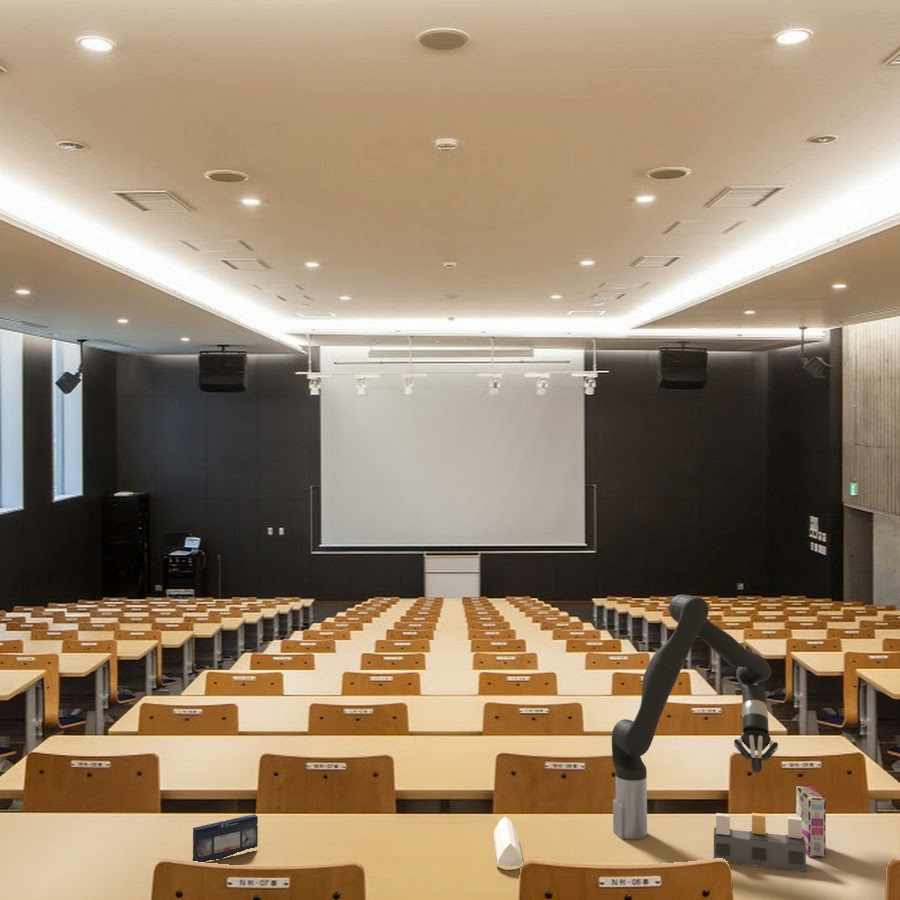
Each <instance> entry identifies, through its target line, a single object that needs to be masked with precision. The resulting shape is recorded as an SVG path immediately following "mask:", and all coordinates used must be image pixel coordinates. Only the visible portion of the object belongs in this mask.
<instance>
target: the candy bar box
mask: <svg viewBox="0 0 900 900" xmlns="http://www.w3.org/2000/svg"><path fill="white" fill-rule="evenodd" d="M795 788H796V789H795V790H796V795H795V796H796V797H795V798H796V799H795V803H796V804H795V805H796V807H795V811H796V813H795V817H801V818H802V837H804V839H805V844H806V856H808V858H826V850H827V849H826V848H827V847H826V845H827V844H826V839H827V838H826V824H827V821H826V819H827V817H826V815H827V814H826V812H827V811H826V801H827V800H826V798H825V797H824V796H823V795H821V793H820V792H818V790H816V789H815V788H814V787H813V786H809V785H808V786H807V785H806V786H805V785H804V786H799V785H798V786H796V787H795Z"/></svg>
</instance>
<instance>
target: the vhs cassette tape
mask: <svg viewBox="0 0 900 900" xmlns="http://www.w3.org/2000/svg"><path fill="white" fill-rule="evenodd" d="M258 821H259V818H258V815H256V814H255V813H253V814H250V815H244V816H240V817H235V818H231V819H227V820H223V821H222V820H221V821H217V822H213V823H208V824H205V825H201V826H195V827H192V862H193V861H198V862H206V861H209V860H216V859H222V858H224V857H227V856H230V855H233V854H235V853H237V852H241V851H244V850H246V849H250V848H255V847H257V846H258V847H259V844H258V841H259V836H258V835H259V834H258V833H259V832H258V830H259V829H258V828H259V826H258V823H259V822H258ZM222 860H223V859H222Z"/></svg>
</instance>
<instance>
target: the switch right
mask: <svg viewBox="0 0 900 900" xmlns="http://www.w3.org/2000/svg"><path fill="white" fill-rule="evenodd" d="M787 835H788V837H792V838H802V818H801V817H796V816H787Z"/></svg>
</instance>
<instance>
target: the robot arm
mask: <svg viewBox="0 0 900 900" xmlns="http://www.w3.org/2000/svg"><path fill="white" fill-rule="evenodd" d="M668 613H669V615H670V617H671V618H672V619H673V620H674V621H675V622H676V623H677V625H676V627H675V629H674V631H673V633H672V635H671V636H670V638H669V639H668V640H667V641H666V642H665V643H664V644H663V645H662V646H661V647H659V649H658V650H657V651H656V652H655V653H654V654H653V655H652V657H651V659H650V661H649V663H648V665H647V667H646V669H645V672H644V674H643V678H642V683H641V685H642V686H641V702H640V705H639V709H638V711H637V714H636V716H635V719H634V720H631V719H625V718H624V719H621V720H619V721H617V723H615V724H614V726H613V729H612V732H611V755H612V765H613V767H614V771H615V775H614V776H615V778H614V779H615V798H614V799H612V829H613V830H612V832H613V833H615V835H617V836H618V837H619V838H620V839H626V838H627V840H640V839H644V838H646V837H647V836H648V802H647V801H648V798H647V797H648V793H647V792H648V789H647V788H648V787H647V786H648V785H647V784H648V783H647V779H648V778H647V777H648V776H647V774H648V773H647V772H648V771H647V767H646V765H645V763H644V762H643V759H642V757H641V756H644V755H645V754H646V753H647V752H648V750H649V749H650V747H651V745H652V742H653V739H654V737H655V734H656V731H657V727H658V724H659V722H660V719H661V716H662V714H663V711H664V708H665V707H666V704H667V703H668V700H669V697H670V695H671V693H672V691H673V688H674V687H675V684H676V682H677V680H678V678H679V675H680V673H681V671H682V668H683V666H684V664H685V662H686V659H687V657H688V655H689V653H690V651H691V649H692V647H693V645H694V643H695V641H696V639H697V638H700V639H701V640H702V641H703V643H705V644H707V645H708V646H709V648H711V649H712V650H713V651H714V652H715V653H716V654H717V655H719V657H720V658H721V659H723V660H724V662H726V663H727V664H728V665H729V666H730V667H732V668H737V669H736V672H735V675H736V676H735V677H736V679H737V682H738V684H739V687H740V688H739V689H740V691H741V694H742V695H741V696H742V699H741V700H742V709H741V722H742V723H741V724H742V725H741V728H742V734H741V735H740V738H738V739H736V738H735V739H734V742H733V745H734V748H736V749H737V751H738V752H739V753H740V754H741V755H742V757H744V759H745V760H749V761H750V762H751V771H752V772H753V773H754V774H758V775H759V774H760V773H762V767H763V763H762V762H763V761H765V762H767V761H768V760H769V759H771V757H772V756H773V755H774V754H775V753H776V751H778V749H779V742H776V741H774V740H771V739H772V738H771V736H770V734H769V733H770V732H769V731H770V730H769V714H768V707H767V706H768V705H767V693H766V689H765V688H764V687H763V686H761V685H759V683H762V682H765V681H767V680H769V679H770V678H771V676H772V675H771V674H772V670H771V666H770V664H769V663H768V662H767V660H766V659H764V658H763V657H762V656H760V655H758V654H757V653H754V652H753V651H750V650H748V649H746V648H745V647H744V646H743V645H742V644H741V643H739V642H738V640H736V639H735V638H734V637H733V636H732V635H731V634H730V633H728V632H726V631H725V630H724V629H722V628H720V627H719V626H717V625H716V624H714V623H713V622H711V620H709V619H708V616H709V605H708V603H707V601H706V600H704V599H703V598H701V597H698V596H696V595H695V596H694V595H689V594H677V595H675V596H674V597H672V599H671V600H670V602H669V606H668ZM757 684H758V685H757ZM743 745H744V746H743ZM768 746H769V747H768ZM767 747H768V748H767ZM746 748H747V749H748V750H749V751H748V750H747V749H746ZM766 748H767V750H766ZM764 750H766V751H765V752H764V753H763V751H764ZM756 751H757V755H756Z"/></svg>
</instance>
